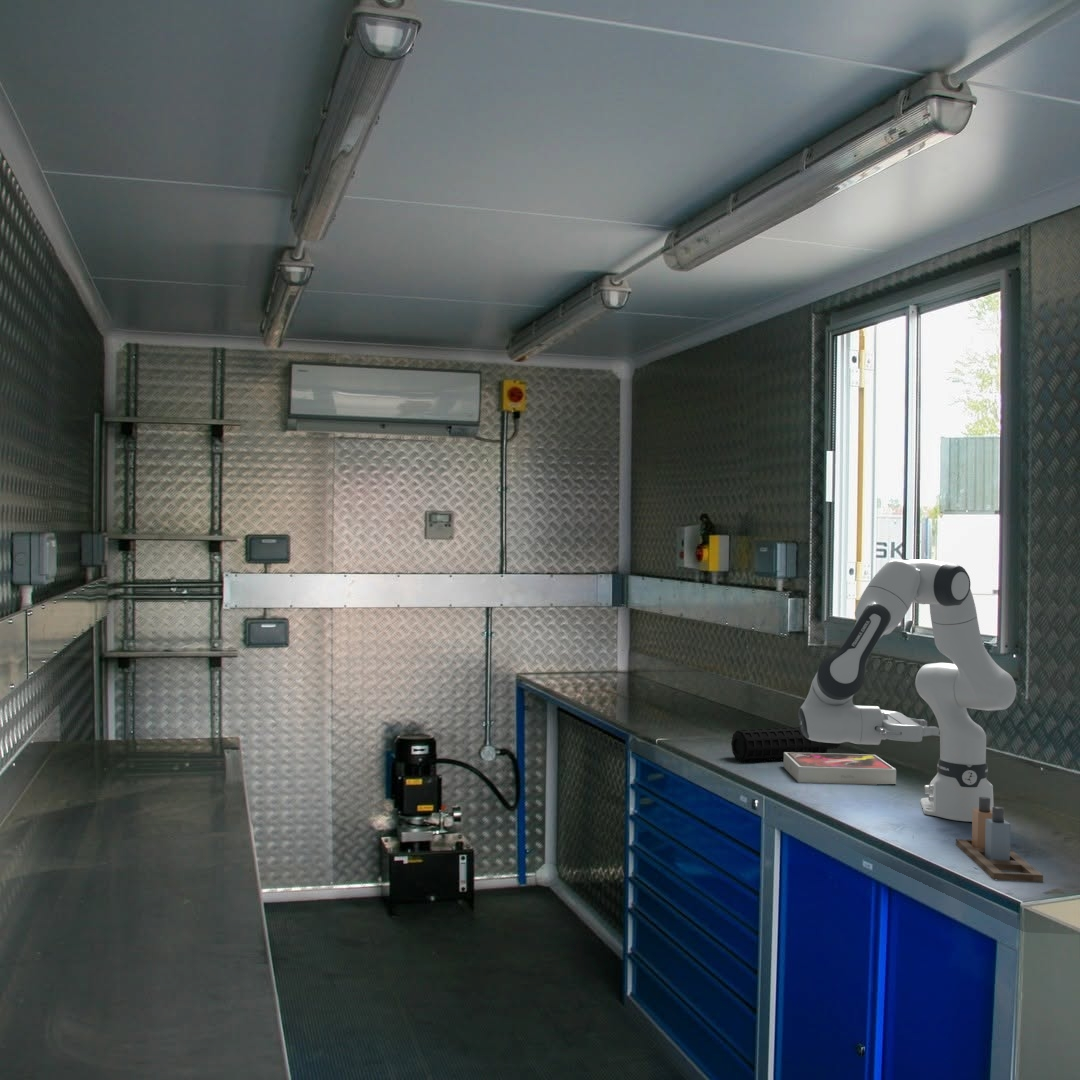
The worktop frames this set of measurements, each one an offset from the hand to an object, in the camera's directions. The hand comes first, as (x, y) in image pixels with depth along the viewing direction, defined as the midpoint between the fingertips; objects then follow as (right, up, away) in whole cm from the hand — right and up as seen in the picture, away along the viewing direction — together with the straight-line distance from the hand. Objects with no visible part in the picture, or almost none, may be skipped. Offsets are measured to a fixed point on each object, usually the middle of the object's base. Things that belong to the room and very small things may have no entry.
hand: (932, 727), depth 251 cm
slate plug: (+11, -28, -10) cm, 32 cm away
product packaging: (-1, -28, +77) cm, 82 cm away
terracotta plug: (+11, -28, -1) cm, 30 cm away
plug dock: (+11, -28, -10) cm, 32 cm away
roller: (-10, -28, +102) cm, 106 cm away
